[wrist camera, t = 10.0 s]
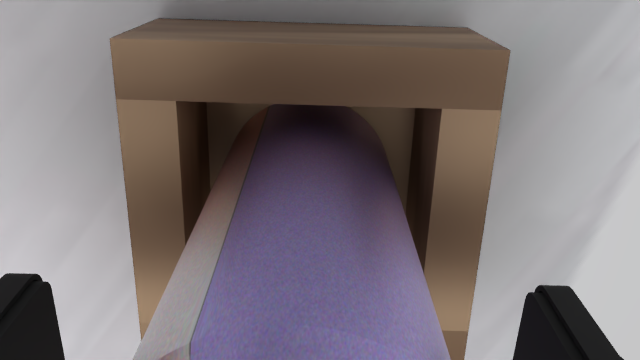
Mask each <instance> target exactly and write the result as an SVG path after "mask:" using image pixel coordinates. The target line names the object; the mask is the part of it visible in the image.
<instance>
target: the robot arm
mask: <svg viewBox="0 0 640 360" xmlns="http://www.w3.org/2000/svg"><path fill="white" fill-rule="evenodd" d="M0 360H65V358H64V352H63V347H62V342H61V336H60V331H59V326H58V320H57V315H56V310H55V305H54V299H53V294H52V289H51V285H50V284H49V283H48V282H43V281H42V278H41V277H40V275H38V274H14V273H9V274H5V275H4V276H3V277H1V279H0ZM513 360H624V359H623V358H622V357H620V356H619V355H618V353H617V352H616V351H615V349H614V348H613V346H612V345H611V343H610V342H609V341H608V339H607V338H606V336H605V335H604V333H603V332H602V331H601V329H600V328H599V326H598V325H597V324H596V322H595V321H594V319H593V318H592V316H591V315H590V314H589V312H588V311H587V309H586V308H585V307H584V305H583V304H582V302H581V301H580V300H579V298H578V297H577V295H576V294H575V292H574V291H573V290H572V289H571V288H570V287H569V286H549V285H539V286H538V287H537V288H536V289H535V292H534V293H533V292H530V293H528V294H527V296H526V299H525V303H524V308H523V313H522V318H521V322H520V327H519V332H518V337H517V342H516V347H515V351H514V356H513Z"/></svg>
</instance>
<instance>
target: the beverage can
mask: <svg viewBox="0 0 640 360" xmlns="http://www.w3.org/2000/svg"><path fill="white" fill-rule="evenodd" d="M133 360H451V359H450V356H449V353H448V349H447V346H446V343H445V340H444V337H443V333H442V330H441V327H440V324H439V321H438V318H437V314H436V311H435V308H434V305H433V302H432V298H431V295H430V292H429V289H428V286H427V283H426V279H425V276H424V273H423V270H422V267H421V263H420V260H419V257H418V254H417V251H416V248H415V244H414V241H413V238H412V235H411V232H410V228H409V225H408V222H407V219H406V216H405V213H404V209H403V206H402V203H401V200H400V197H399V193H398V190H397V187H396V184H395V181H394V178H393V174H392V171H391V168H390V165H389V162H388V158H387V155H386V152H385V149H384V147H383V144H382V142H381V140H380V138H379V137H378V135H377V133H376V132H375V131H374V129H373V128H372V127H371V126H370V125H369V123H368V122H367V121H366V120H365V119H363V118H362V117H361V116H360V115H359V114H357V113H356V112H354V111H353V110H351V109H349V108H348V107H346V106H329V105H295V104H273V105H271V106H269V107H267V108H265V109H263V110H262V111H260V112H259V113H257V114H256V115H255V116H253V117H252V118H251V119H250V120H249V121H248V122H247V123H246V124H245V125H244V127H243V128H242V129H241V130H240V132H239V133H238V135H237V137H236V138H235V140H234V142H233V144H232V147H231V149H230V151H229V153H228V155H227V157H226V159H225V162H224V164H223V166H222V168H221V170H220V172H219V175H218V177H217V179H216V181H215V183H214V185H213V188H212V190H211V192H210V194H209V196H208V198H207V200H206V203H205V205H204V207H203V209H202V211H201V213H200V216H199V218H198V220H197V222H196V224H195V226H194V229H193V231H192V233H191V235H190V237H189V239H188V242H187V244H186V246H185V248H184V250H183V252H182V254H181V257H180V259H179V261H178V263H177V265H176V267H175V270H174V272H173V274H172V276H171V278H170V280H169V283H168V285H167V287H166V289H165V291H164V293H163V295H162V298H161V300H160V302H159V304H158V306H157V308H156V311H155V313H154V315H153V317H152V319H151V321H150V324H149V326H148V328H147V330H146V332H145V334H144V337H143V339H142V341H141V343H140V345H139V347H138V349H137V352H136V354H135V356H134V358H133Z"/></svg>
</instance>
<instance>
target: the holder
mask: <svg viewBox="0 0 640 360" xmlns="http://www.w3.org/2000/svg"><path fill="white" fill-rule="evenodd" d="M110 46H111V56H112V65H113V75H114V85H115V94H116V104H117V113H118V123H119V132H120V142H121V151H122V161H123V170H124V180H125V189H126V199H127V209H128V218H129V228H130V237H131V247H132V256H133V266H134V275H135V285H136V294H137V304H138V313H139V323H140V333H141V341H142V339H143V337H144V334H145V332H146V330H147V328H148V326H149V324H150V321H151V319H152V317H153V315H154V313H155V311H156V308H157V306H158V304H159V302H160V300H161V298H162V295H163V293H164V291H165V289H166V287H167V285H168V283H169V280H170V278H171V276H172V274H173V272H174V270H175V267H176V265H177V263H178V261H179V259H180V257H181V254H182V252H183V250H184V248H185V246H186V244H187V242H188V239H189V237H190V235H191V233H192V231H193V229H194V226H195V224H196V222H197V220H198V218H199V216H200V213H201V211H202V209H203V207H204V205H205V203H206V200H207V198H208V196H209V194H210V192H211V190H212V188H213V185H214V183H215V181H216V179H217V177H218V175H219V172H220V170H221V168H222V166H223V164H224V162H225V159H226V157H227V155H228V153H229V151H230V149H231V147H232V144H233V142H234V140H235V138H236V137H237V135H238V133H239V132H240V130H241V129H242V128H243V127H244V125H245V124H246V123H247V122H248V121H249V120H250V119H251V118H252V117H253V116H255V115H256V114H257V113H259V112H260V111H262V110H263V109H265V108H267V107H269V106H271V105H273V104H295V105H329V106H346V107H348V108H349V109H351V110H353V111H354V112H356V113H357V114H359V115H360V116H361V117H362V118H363V119H365V120H366V121H367V122H368V123H369V125H370V126H371V127H372V128H373V129H374V131H375V132H376V133H377V135H378V137H379V138H380V140H381V142H382V144H383V147H384V149H385V152H386V155H387V158H388V162H389V165H390V168H391V171H392V174H393V178H394V181H395V184H396V187H397V190H398V193H399V197H400V200H401V203H402V206H403V209H404V213H405V216H406V219H407V222H408V225H409V228H410V232H411V235H412V238H413V241H414V244H415V248H416V251H417V254H418V257H419V260H420V263H421V267H422V270H423V273H424V276H425V279H426V283H427V286H428V289H429V292H430V295H431V298H432V302H433V305H434V308H435V311H436V314H437V318H438V321H439V324H440V327H441V330H442V333H443V337H444V340H445V343H446V346H447V349H448V353H449V356H450V359H451V360H464V356H465V349H466V343H467V336H468V329H469V323H470V316H471V309H472V303H473V296H474V289H475V283H476V276H477V269H478V263H479V256H480V250H481V243H482V236H483V230H484V223H485V216H486V210H487V203H488V196H489V190H490V183H491V176H492V170H493V163H494V156H495V150H496V143H497V136H498V130H499V123H500V116H501V110H502V103H503V96H504V90H505V83H506V76H507V70H508V63H509V56H510V50H509V49H507V48H505V47H503V46H501V45H499V44H497V43H495V42H494V41H492V40H490V39H488V38H486V37H484V36H482V35H480V34H478V33H477V32H475V31H473V30H471V29H469V28H458V27H425V26H392V25H359V24H326V23H293V22H259V21H226V20H193V19H160V18H158V19H156V20H153V21H151V22H148V23H146V24H143V25H141V26H139V27H136V28H134V29H131V30H129V31H126V32H124V33H122V34H119V35H117V36H114V37H112V38H110Z"/></svg>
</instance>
